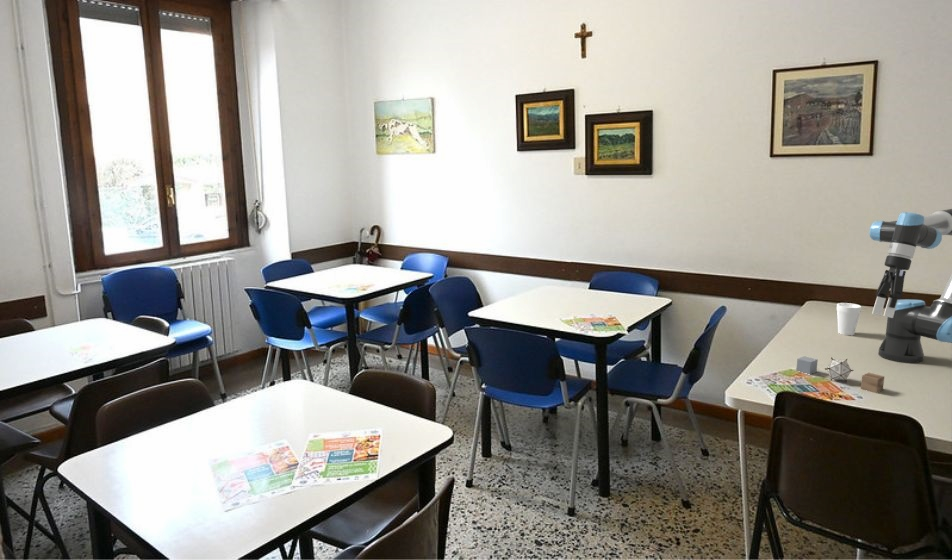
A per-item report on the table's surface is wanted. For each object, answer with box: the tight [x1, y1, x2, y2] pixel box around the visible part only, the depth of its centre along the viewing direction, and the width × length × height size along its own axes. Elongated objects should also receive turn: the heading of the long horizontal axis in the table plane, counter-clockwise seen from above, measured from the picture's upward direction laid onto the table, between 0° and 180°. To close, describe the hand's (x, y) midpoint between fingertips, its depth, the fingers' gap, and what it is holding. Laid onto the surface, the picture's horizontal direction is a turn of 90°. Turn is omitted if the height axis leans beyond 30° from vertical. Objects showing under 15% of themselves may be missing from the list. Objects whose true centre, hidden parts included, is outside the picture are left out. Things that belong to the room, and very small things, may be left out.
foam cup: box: [836, 302, 862, 336], centre depth 292 cm, size 10×9×13 cm
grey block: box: [796, 356, 819, 375], centre depth 245 cm, size 5×5×5 cm
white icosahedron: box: [824, 357, 854, 383], centre depth 236 cm, size 9×8×10 cm
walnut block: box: [860, 372, 885, 394], centre depth 227 cm, size 5×5×5 cm
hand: (881, 316), depth 229 cm, fingers open, 13 cm apart
